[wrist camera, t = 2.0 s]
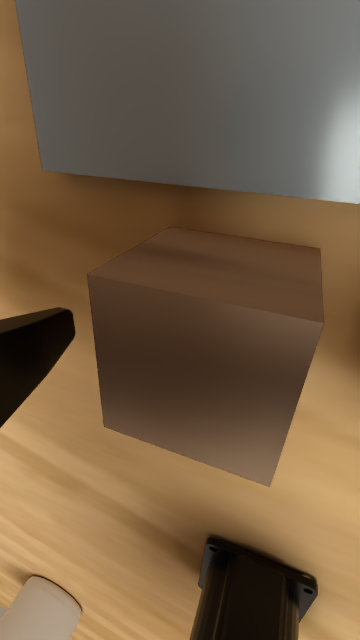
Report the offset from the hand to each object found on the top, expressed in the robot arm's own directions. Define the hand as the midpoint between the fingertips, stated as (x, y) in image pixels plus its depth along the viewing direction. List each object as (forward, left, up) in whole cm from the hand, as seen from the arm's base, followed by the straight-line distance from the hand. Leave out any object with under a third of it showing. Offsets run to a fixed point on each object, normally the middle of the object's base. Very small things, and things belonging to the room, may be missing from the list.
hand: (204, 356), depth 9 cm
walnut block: (0, 0, -3) cm, 3 cm away
